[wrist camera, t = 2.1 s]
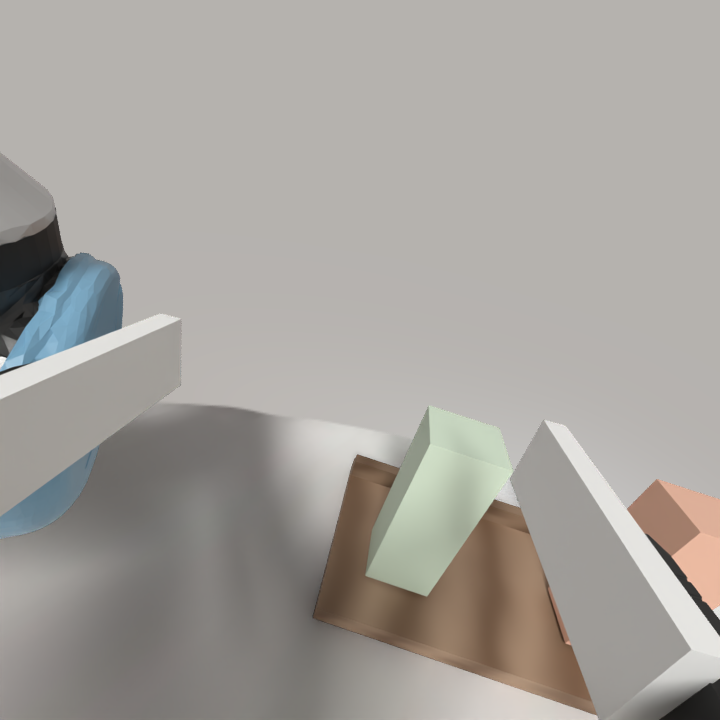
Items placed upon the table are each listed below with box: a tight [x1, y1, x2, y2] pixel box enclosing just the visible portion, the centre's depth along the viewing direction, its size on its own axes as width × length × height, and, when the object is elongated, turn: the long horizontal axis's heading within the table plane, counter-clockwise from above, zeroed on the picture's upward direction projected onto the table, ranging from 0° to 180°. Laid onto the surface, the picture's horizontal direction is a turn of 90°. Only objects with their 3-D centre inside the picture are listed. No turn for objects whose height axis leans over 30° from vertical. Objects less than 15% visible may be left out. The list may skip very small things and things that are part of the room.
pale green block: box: [365, 406, 513, 596], centre depth 24 cm, size 5×4×14 cm
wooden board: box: [313, 455, 597, 715], centre depth 30 cm, size 27×15×4 cm, turn 81°
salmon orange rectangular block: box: [548, 479, 720, 645], centre depth 24 cm, size 5×4×14 cm
